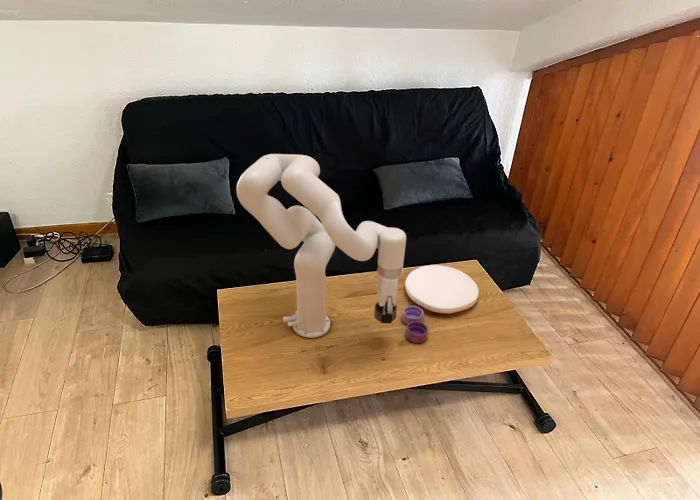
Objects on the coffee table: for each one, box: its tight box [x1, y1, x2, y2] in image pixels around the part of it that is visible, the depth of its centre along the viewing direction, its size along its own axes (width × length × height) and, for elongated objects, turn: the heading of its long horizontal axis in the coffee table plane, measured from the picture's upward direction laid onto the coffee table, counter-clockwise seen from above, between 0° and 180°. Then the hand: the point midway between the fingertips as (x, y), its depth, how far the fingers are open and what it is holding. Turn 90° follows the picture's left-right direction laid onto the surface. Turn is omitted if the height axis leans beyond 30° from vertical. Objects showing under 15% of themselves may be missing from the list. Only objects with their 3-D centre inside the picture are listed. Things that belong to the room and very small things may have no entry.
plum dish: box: [405, 321, 429, 344], centre depth 162 cm, size 7×7×4 cm
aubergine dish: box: [373, 301, 398, 323], centre depth 154 cm, size 7×7×4 cm
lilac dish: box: [401, 305, 425, 326], centre depth 169 cm, size 7×7×4 cm
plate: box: [404, 264, 480, 315], centre depth 182 cm, size 28×6×27 cm
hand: (385, 314), depth 155 cm, fingers closed on aubergine dish, 7 cm apart
